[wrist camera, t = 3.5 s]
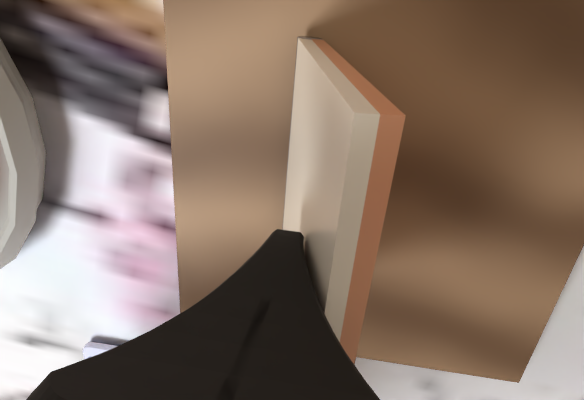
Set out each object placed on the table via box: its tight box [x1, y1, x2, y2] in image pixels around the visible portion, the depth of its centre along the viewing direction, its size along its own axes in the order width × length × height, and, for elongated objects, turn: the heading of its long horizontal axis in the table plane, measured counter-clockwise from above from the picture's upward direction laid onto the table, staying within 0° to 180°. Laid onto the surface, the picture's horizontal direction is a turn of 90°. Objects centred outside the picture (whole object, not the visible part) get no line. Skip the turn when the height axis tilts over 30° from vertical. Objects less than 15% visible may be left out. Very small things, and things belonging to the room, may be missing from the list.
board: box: [163, 0, 584, 383], centre depth 17 cm, size 18×16×1 cm
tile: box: [282, 36, 406, 364], centre depth 13 cm, size 10×9×1 cm
